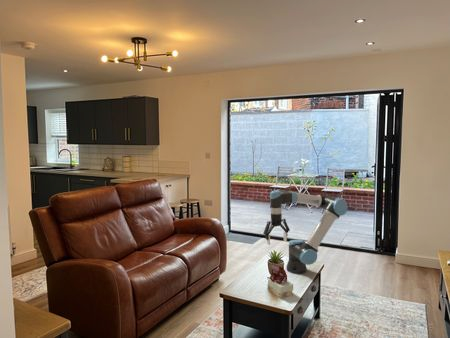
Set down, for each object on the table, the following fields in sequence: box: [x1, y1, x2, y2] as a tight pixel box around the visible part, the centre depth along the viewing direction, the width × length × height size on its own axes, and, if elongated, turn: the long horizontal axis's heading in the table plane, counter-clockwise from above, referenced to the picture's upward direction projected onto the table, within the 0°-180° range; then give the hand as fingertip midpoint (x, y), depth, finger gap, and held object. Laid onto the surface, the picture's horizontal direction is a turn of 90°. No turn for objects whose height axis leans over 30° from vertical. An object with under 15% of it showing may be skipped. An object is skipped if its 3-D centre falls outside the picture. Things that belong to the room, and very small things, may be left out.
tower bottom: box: [267, 284, 293, 299], centre depth 230 cm, size 10×14×4 cm
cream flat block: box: [267, 278, 294, 293], centre depth 229 cm, size 10×14×4 cm
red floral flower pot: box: [269, 263, 288, 284], centre depth 229 cm, size 7×12×10 cm, turn 42°
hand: (277, 242), depth 245 cm, fingers open, 13 cm apart
